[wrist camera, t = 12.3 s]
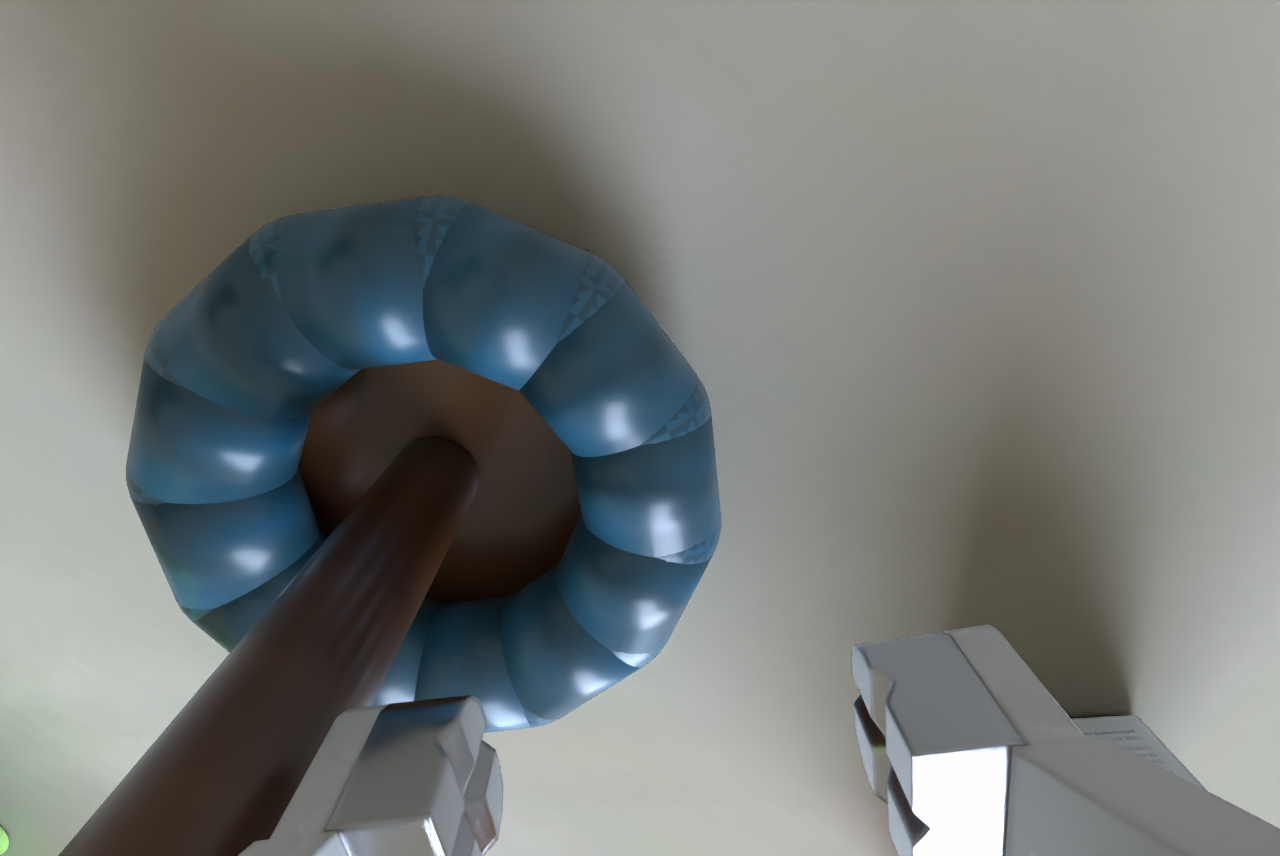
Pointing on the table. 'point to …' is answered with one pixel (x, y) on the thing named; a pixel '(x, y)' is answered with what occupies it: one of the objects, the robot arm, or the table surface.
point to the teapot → (3, 841)
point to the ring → (474, 341)
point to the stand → (351, 596)
